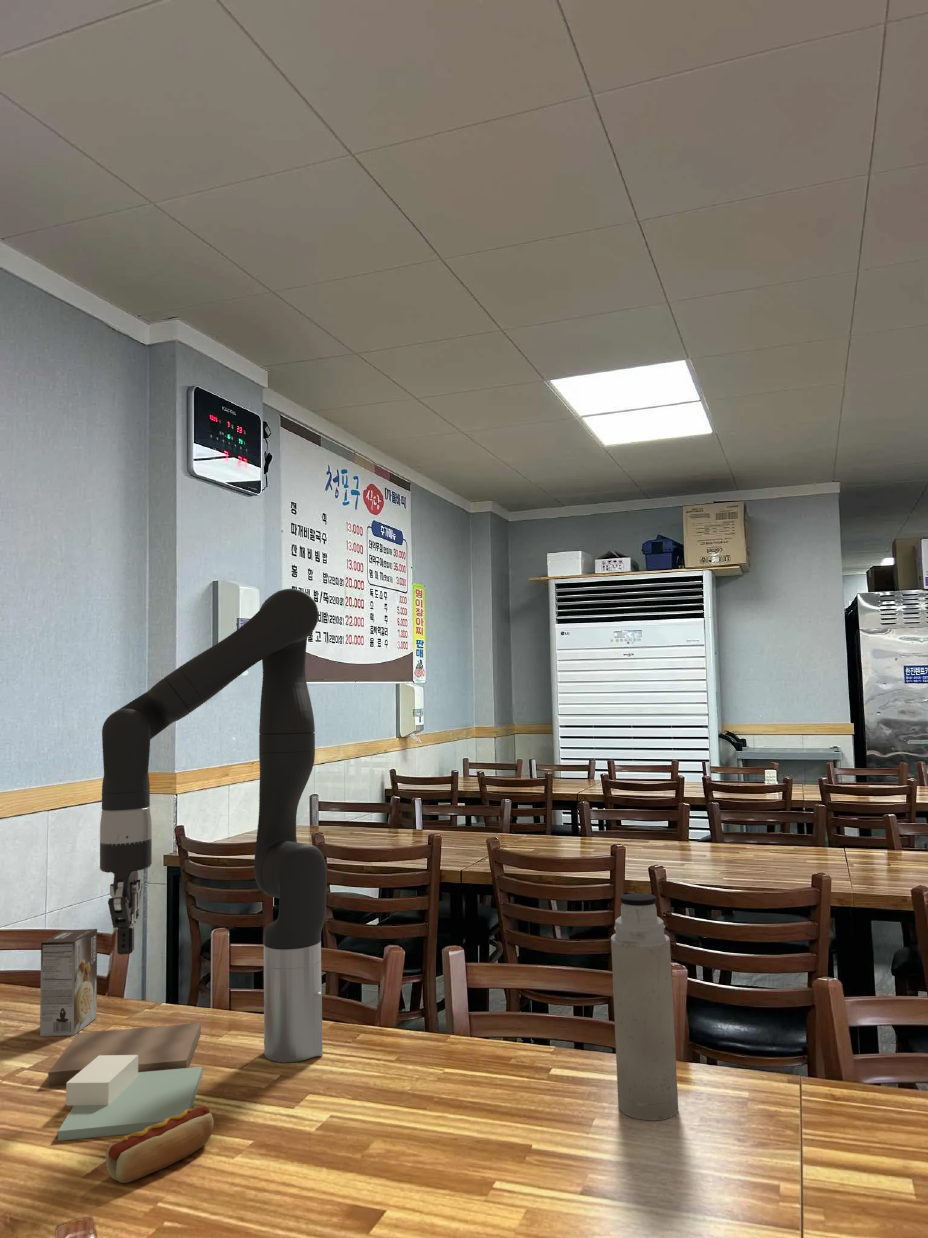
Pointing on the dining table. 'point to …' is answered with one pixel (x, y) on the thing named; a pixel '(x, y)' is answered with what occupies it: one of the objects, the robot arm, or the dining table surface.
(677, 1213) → the dining table surface
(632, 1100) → the thermos bottle
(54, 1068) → the plate
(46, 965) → the coffee box
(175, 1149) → the food
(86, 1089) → the white rectangular block
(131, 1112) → the mat
